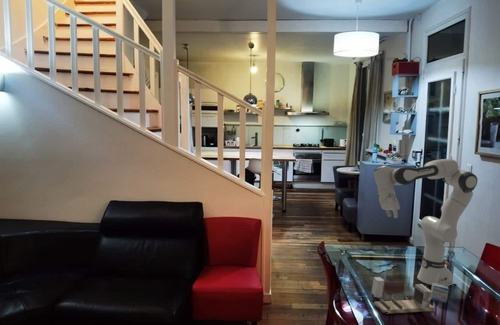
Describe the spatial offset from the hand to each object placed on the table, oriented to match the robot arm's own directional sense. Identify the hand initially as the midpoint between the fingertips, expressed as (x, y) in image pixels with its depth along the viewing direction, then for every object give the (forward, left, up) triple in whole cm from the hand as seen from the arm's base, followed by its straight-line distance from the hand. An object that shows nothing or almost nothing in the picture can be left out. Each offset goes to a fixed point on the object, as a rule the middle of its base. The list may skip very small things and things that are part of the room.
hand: (393, 217), depth 210 cm
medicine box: (-22, +19, -42) cm, 51 cm away
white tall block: (+12, +12, -42) cm, 45 cm away
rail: (+4, +25, -41) cm, 49 cm away
